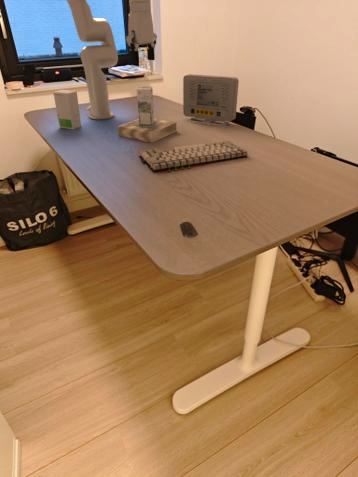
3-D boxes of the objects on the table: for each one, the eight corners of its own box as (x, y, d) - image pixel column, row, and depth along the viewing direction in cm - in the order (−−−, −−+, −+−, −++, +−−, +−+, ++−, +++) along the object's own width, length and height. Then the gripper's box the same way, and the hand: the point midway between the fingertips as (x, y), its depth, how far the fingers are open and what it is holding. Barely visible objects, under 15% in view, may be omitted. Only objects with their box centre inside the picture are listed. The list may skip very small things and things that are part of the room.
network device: (236, 122, 160) (240, 76, 149) (230, 127, 154) (233, 79, 142) (188, 116, 170) (189, 73, 159) (180, 121, 164) (180, 75, 152)
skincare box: (59, 127, 156) (51, 91, 147) (68, 124, 161) (61, 89, 152) (74, 129, 153) (67, 93, 144) (82, 125, 158) (76, 90, 149)
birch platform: (118, 135, 145) (117, 125, 143) (144, 125, 158) (144, 116, 155) (151, 142, 137) (151, 132, 134) (176, 131, 149) (176, 121, 147)
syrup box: (154, 121, 147) (152, 86, 139) (152, 125, 142) (150, 88, 134) (141, 121, 148) (139, 86, 139) (138, 125, 143) (136, 88, 134)
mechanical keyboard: (225, 144, 136) (226, 136, 134) (251, 160, 122) (252, 151, 120) (136, 158, 124) (135, 149, 122) (153, 178, 110) (153, 168, 108)
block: (191, 227, 85) (191, 221, 84) (198, 239, 80) (199, 232, 79) (177, 228, 84) (178, 221, 83) (184, 239, 79) (185, 233, 78)
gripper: (147, 8, 130) (149, 58, 139) (116, 8, 118) (121, 63, 127) (162, 8, 126) (164, 59, 136) (132, 8, 114) (136, 64, 124)
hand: (143, 61), depth 131 cm, fingers open, 9 cm apart
